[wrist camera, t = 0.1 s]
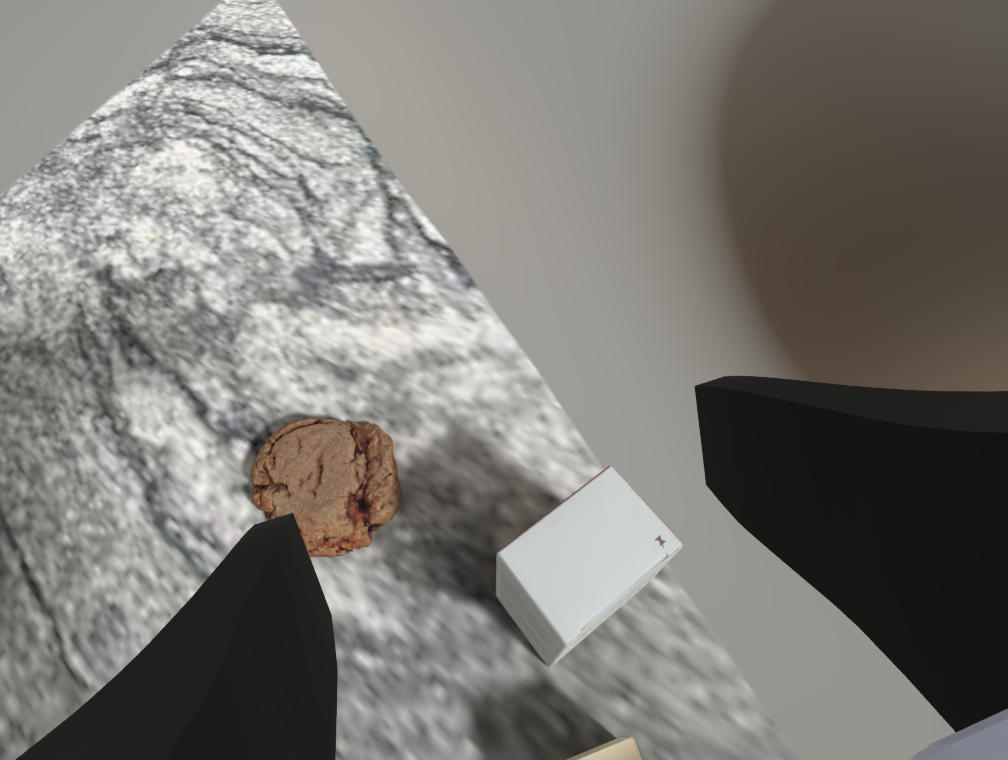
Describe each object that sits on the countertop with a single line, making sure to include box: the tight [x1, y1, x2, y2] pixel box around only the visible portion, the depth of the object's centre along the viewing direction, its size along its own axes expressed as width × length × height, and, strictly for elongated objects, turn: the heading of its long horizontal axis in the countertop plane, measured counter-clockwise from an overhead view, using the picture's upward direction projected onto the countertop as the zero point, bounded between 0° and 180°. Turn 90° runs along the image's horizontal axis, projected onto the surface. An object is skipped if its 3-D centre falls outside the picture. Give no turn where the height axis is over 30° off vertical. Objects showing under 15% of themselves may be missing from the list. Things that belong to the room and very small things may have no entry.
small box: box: [496, 466, 683, 667], centre depth 37 cm, size 8×6×10 cm
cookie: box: [251, 418, 401, 557], centre depth 43 cm, size 10×11×3 cm
